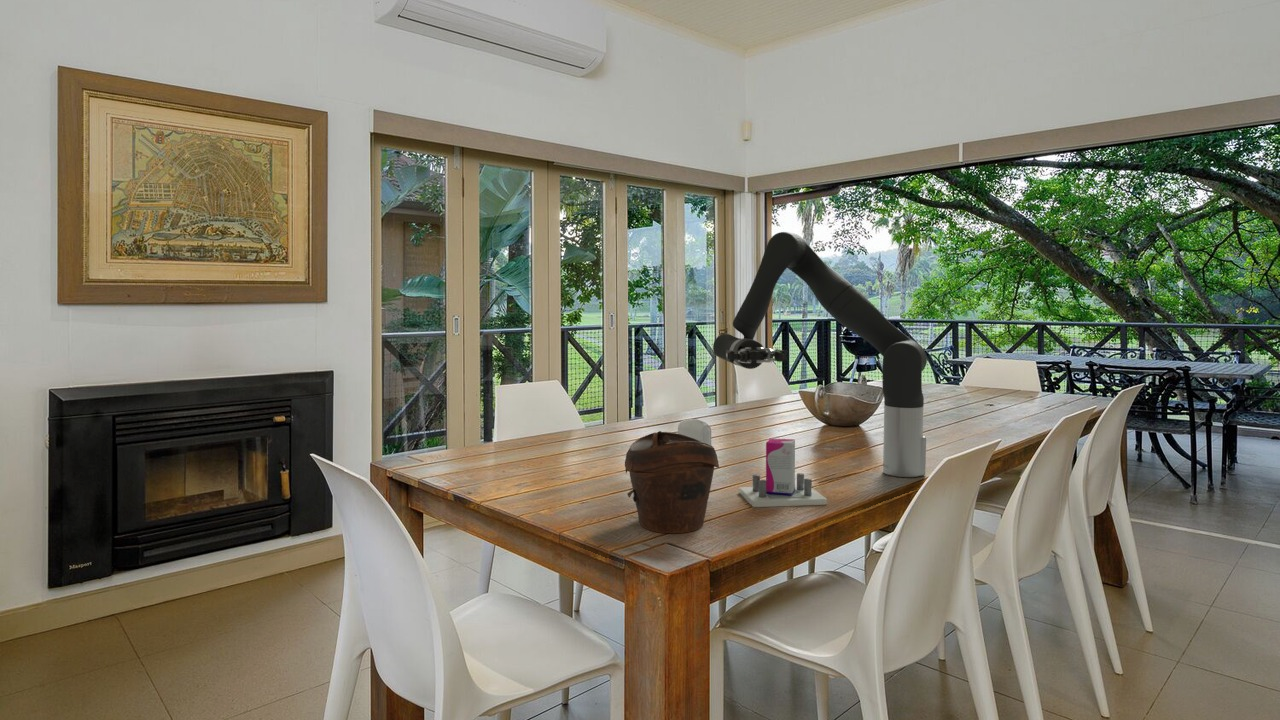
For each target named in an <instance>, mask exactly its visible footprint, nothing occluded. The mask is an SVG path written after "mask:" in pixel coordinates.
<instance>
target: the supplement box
mask: <svg viewBox="0 0 1280 720" xmlns="http://www.w3.org/2000/svg"><path fill="white" fill-rule="evenodd" d="M795 440H796V439H792V438H791V439H790V438H769V439H768V440H767V441H766V443H765V480H766V494H773V495H787V496H792V495H793V493H794V491H795V486H796V441H795Z"/></svg>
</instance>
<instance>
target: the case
mask: <svg viewBox="0 0 1280 720" xmlns="http://www.w3.org/2000/svg"><path fill="white" fill-rule="evenodd" d="M718 460H719V459H718V454H717V452H716V450H715V448H714V447H713V445H712V444H711V445H708V444H706V443H703V442H701V441H699V440H696V439H694V438H691V437H688V436H685V435H682V434H678V432H677V433H676V432H672V431H671V432H668V431H661V430H658V431H657V432H652V433H649V434H646V435H644V436H641V437H640V438H638V439H637V440H635V441H634V442H632V444H631V445H630V446H629V448H628V451H626V454H625V460H624V467H625V474H627V473H628V472H629V477H630V483H631V487H632V489H631V490H630V491H628V493H627V497H628V498H631V496H632V495H633V496H632V500H633V502H635V503H634V504H635V507H636V511H637V516H638V517H637V518H638V520H639V523H640V526H641V527H642V528H645V530H648V531H652V532H653V533H661V534H682V533H683V534H684V533H689V532H690V533H691V532H693V531H696V530H698V529H700V528H701V527H702V526H703V525H704V523H705V517H706V512H707V508H708V502H709V497H710V492H711V488H712V482H713V475H714V470H715V468H718V469H720V465H719V461H718Z"/></svg>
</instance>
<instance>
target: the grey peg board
mask: <svg viewBox="0 0 1280 720" xmlns="http://www.w3.org/2000/svg"><path fill="white" fill-rule="evenodd" d="M812 481H813V480H812V478H807V477H806V478H805V473H800V472H797V473H796V485H795V491H794V493H793V495H792V496H787V495H773V494H766V479H761V475H760V474H752V486H742V487H741V486H740V487H739V494H740V495H741V496H742V497H743V499H745V500H746V502H747V503H748V504H750V505H751V507H752V508H762V507H763V508H765V507H770V508H771V507H793V506H795V507H796V506H819V505H820V506H823V505H824V506H825V505H827V502H828V499H827V498H826V497H825V496H823V495H822V494H821V493H820V492H818V491H816V489H814V488H812V486H813V485H812V484H813V482H812Z"/></svg>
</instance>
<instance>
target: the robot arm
mask: <svg viewBox="0 0 1280 720" xmlns="http://www.w3.org/2000/svg"><path fill="white" fill-rule="evenodd" d="M786 270H789V271H791V272H793V274H795V275H796V276H797V277H799V278H800V279H801V280H802V281H803V282H804V283H805V284H806V285H808V287H809V289H810V290H811V291H812V293H813V295H814V296H815V298H816V300H817V301H818V303H819V304H820V305H821V307H823V308H824V310H825V311H826V312H827V313H829V315H831V316H832V317H833V318H834V319H835V320H836V321H837V322H838V323H839V324H841V326H843V327H845V328H846V329H847V330H849V331H851V332H852V333H853V334H855V335H856V336H858V337H861V338H862V339H863V340H865V341H866V342H867V343H869V344H870V345H871V346H872V347H874V348H875V349H876V350H877V352H879V354H880V355H881V356H882V370H881V371H882V376H881V377H882V379H881V380H882V382H881V383H882V384H881V385H882V396H883V398H884V400H883V402H884V408H883V412H884V413H883V450H882V451H883V454H882V455H883V456H882V457H883V458H882V459H883V460H882V472H883V474H886V475H889V476H892V477H899V478H917V477H921V476H926V469H927V468H926V465H927V464H926V463H927V462H926V461H927V459H926V458H927V457H926V456H927V437H926V436H924V406H925V405H924V403H925V402H924V401H925V399H924V398H925V397H924V394H923V388H922V386H923V385H922V379H923V377H922V376H923V375H922V374H923V371H924V370H925V369H926V366H927V362H928V359H927V358H928V357H927V354H926V351H925V349H924V348H923V347H922V345H920V343H918V342H916V341H915V340H914V339H912V338H910V337H909V336H907V334H905V333H903V331H901V329H898V328H897V327H896V326H895V325H894V324H892V323H891V322H890V321H889V320H888V319H887V318H886V317H885V315H884V314H882V313H881V312H882V311H881V312H880V310H879V309H878V308H877V307H876V306H875V305H874V304H873V303H872V302H871V301H870V300H869V299H868V298H867V297H866V296H865V295H864V294H863V293H862V292H861V291H860V290H858V289H857V288H856V287H855V286H854V285H853V284H852V283H851V282H849V281H848V280H847V279H846V278H844V276H842V275H841V274H840V273H839V272H837V271H836V270H834V269H833V268H832V267H830V266H829V265H828V264H827V263H826V262H825V261H824V260H823V259H822V258H821V257H820V256H819V255H818V254H817V253H816V252H815V250H814V249H813V248H812V247H811V246H810V245H809V243H808V242H807V241H806V240H805V239H804V238H803V237H802V236H800V235H799V234H796V233H793V232H789V231H788V232H787V231H781V232H777V233H775V234H774V235H772V236H771V237H770V239H769V241H768V242H767V245H766V248H765V250H764V252H763V256H762V258H761V261H760V265H759V267H758V269H757V273H756V275H755V276H754V279H753V282H752V284H751V287H750V288H749V291H748V292H747V294H746V296H745V299H744V300H743V301H742V304H741V305H740V307H739V310H738V311H737V313H736V315H735V317H734V319H733V321H732V326H733V328H734V329H735V330H736V331H738V332H739V333H740V334H742V336H743V338H738V337H735V336H734V335H732V334H730V333H726V332H725V333H722V334H719V335H718V336H717V337H716V338H715V339H714V342H713V344H712V351H713V354H714V355H715V356H716V357H718V358H720V359H722V360H725V361H726V362H729V363H731V364H733V365H735V366H739V367H741V368H744V369H749V370H754V369H757V368H758V367H760V366H761V365H762V364H763V363H768V364H769V363H774V362H778V363H780V362H786V361H787V350H786V349H779V348H775V349H773V348H768V347H767V348H766V347H764V345H763V344H762V343H761V342H760V341H758V340H757V339H754V338H755V336H756V334H757V332H758V331H757V330H758V329H759V327H760V325H762V324H761V323H762V322H763V320H764V318H765V316H766V314H767V312H768V310H769V307H770V305H771V304H770V303H771V300H772V297H773V293H774V290H775V287H777V283H778V282H779V280H780V278H781V276H782V275H783V274H784V273H785V271H786Z"/></svg>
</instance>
